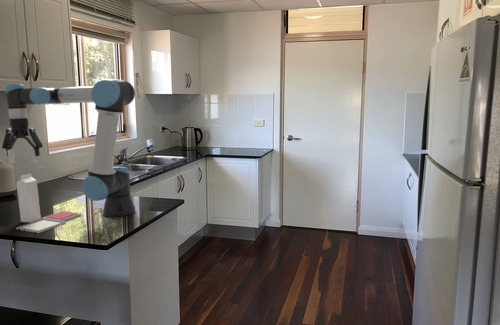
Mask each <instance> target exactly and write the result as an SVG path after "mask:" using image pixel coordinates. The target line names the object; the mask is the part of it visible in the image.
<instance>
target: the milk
mask: <svg viewBox="0 0 500 325" xmlns="http://www.w3.org/2000/svg"><path fill="white" fill-rule="evenodd" d="M16 190H17V199H18V209H19V217H20V223H28V224H29V223H32V222H35V221H38V220H42V215H41V207H40V198H39V190H38V180H37V179H36V178H34V177H33V176H32V173H27V174H26V173H25V174H23V175H20V179H19V180H17V181H16Z"/></svg>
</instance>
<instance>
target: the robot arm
mask: <svg viewBox="0 0 500 325" xmlns="http://www.w3.org/2000/svg"><path fill="white" fill-rule="evenodd" d="M5 97H6V103H7V109H8V117H9V118H10V119H9V126H10V128H5V134H4V139H3V142H2V146H1V149H5V150H6V155H7V157H8V158H7V159H8V163H9V164H15V163H16V162H15V161H16V160H15V159H16V158H15V153H14V149H13V147H14V145H15V143H16V141H17V140H18V139H24V140H26V142H27V143H28V144H29V145H30V146H31V148H32V158H33V159H32V160H33V164H39V163H40V149H41V148H43V147H44V146H43V144H42V141H41V140H40V138H39V136H38V134H37V132H36V130H35V128H34V127H30V128H29V126H30V125H29V119H28V110H27V109H28V108H27V107H28V105H29V106H30V105H60V104H78V103H79V104H82V103H83V104H85V103H94V104H95V108H94V109H95V110H96V112H97V113H98V115H97V122H96V131H95V133H96V134H95V142H94V151H93V152H94V153H93V158H92V159H93V160H92V161H93V162H92V165H91V166H90V167H89V169H88V172H87V173H88V174H87V176H86V177H85V178H84V179H83V180H82V183H81V190H82V192H83V194H84V195H85V197H86V198H88V199H89V200H91V201H94V202H100V201H103V200H105V201H104V205H103V208H102V215H103V216H104V217H109V218H116V217H117V218H119V217H124V216H125V217H126V216H129V215H132V214H134V213H135V212H136V206H135V205H134V202H133V199H132V197H131V184H130V182H131V181H130V172H129V167H127V166H114V160H115V153H116V142H117V134H118V128H119V118H120V116H121V115H122V114H123V113H124V110H125V109H124V108H125V106H128V105H130V104H131V103H132V102H133V101H134V99H135V97H136V91H135V87H134V86H133V84H131V83H130V82H129V81H127V80H124V79H114V78H113V79H112V78H102V79H100V80H98V81H97V82H95V83H94V85H93V86H92V85H91V86H89V85H88V86H87V85H86V86H71V87H70V86H68V87H43V86H41V87H39V86H35V87H25V85H24V84H21V83H14V84H13V83H10V84H9V83H8V84H6V85H5Z"/></svg>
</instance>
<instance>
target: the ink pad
mask: <svg viewBox="0 0 500 325" xmlns="http://www.w3.org/2000/svg"><path fill="white" fill-rule="evenodd" d="M81 216H82V214H81V213H80V212H79V213H78V212H74V211H73V212H70V211H66V210H65V211H63V210H61V211H59V212H56V213H55V212H54V213H53V214H49V215H45V216H44V217H41V220H42V219H47V220H54V221H63V222H68V221H71V220H74V219H76V218H79V217H81Z"/></svg>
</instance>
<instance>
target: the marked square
mask: <svg viewBox="0 0 500 325" xmlns="http://www.w3.org/2000/svg"><path fill="white" fill-rule="evenodd" d="M66 222H67V221H65V222H63V221H54V220H47V219H42V218H41V219H40V220H37V221H34V222H31V223H29V222H28V223H26V224H23V225H19V226H17V227H16V230H18V229H20V231H24V230H25V232H30V233H35V232H36V234H39V233H42V232H45V231H48V230H51V229H55V228H57V227H60V226H63V225H65V224H66ZM59 225H60V226H59Z"/></svg>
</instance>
